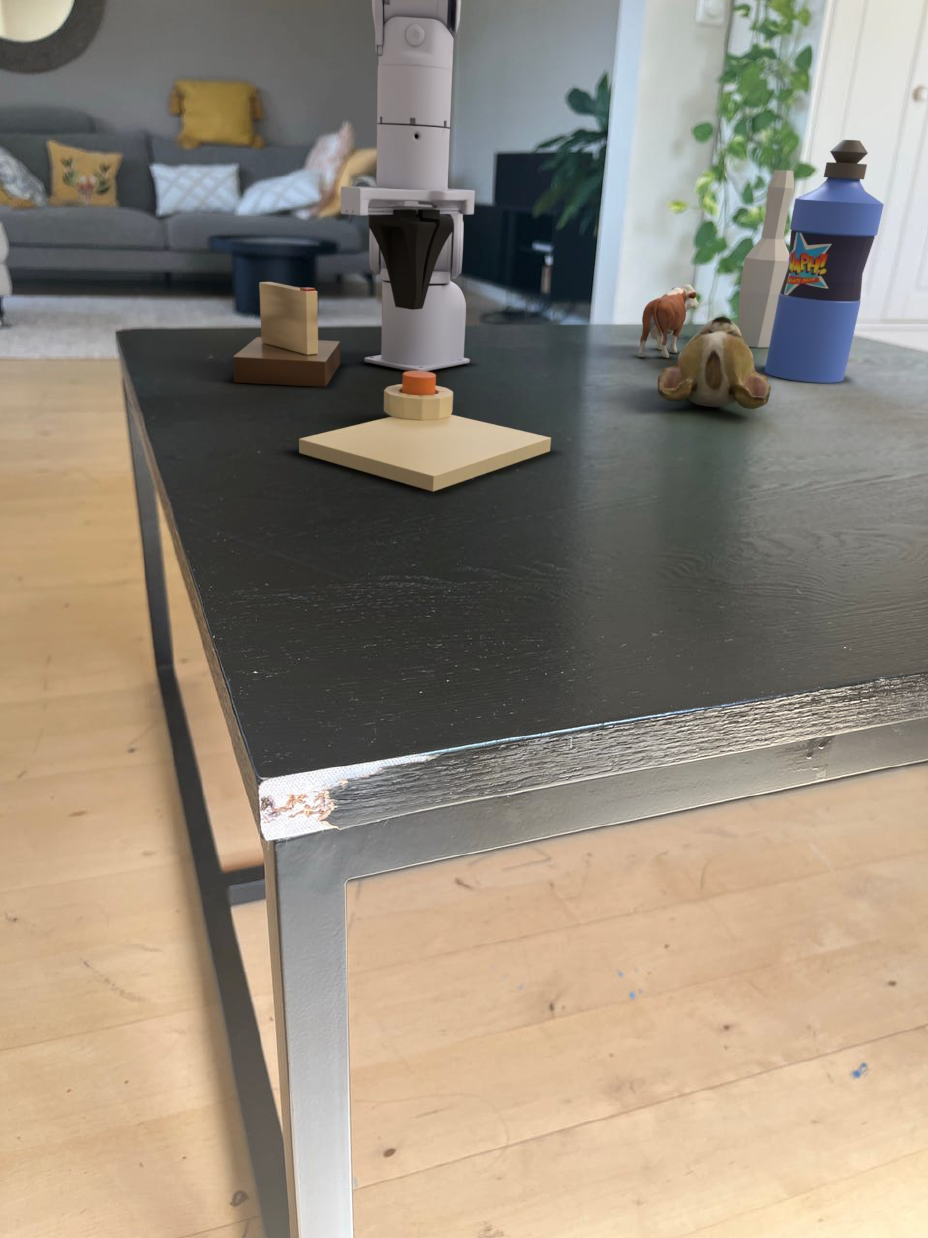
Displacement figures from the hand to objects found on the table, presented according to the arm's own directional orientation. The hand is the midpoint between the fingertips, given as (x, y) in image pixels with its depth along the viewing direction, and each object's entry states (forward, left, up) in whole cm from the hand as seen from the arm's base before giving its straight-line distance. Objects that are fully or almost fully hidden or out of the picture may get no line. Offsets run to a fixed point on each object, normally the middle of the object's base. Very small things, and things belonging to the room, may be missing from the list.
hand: (408, 307), depth 80 cm
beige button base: (+7, +8, -9) cm, 14 cm away
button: (+2, +3, -7) cm, 7 cm away
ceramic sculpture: (-27, +17, -10) cm, 33 cm away
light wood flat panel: (-5, -20, -7) cm, 22 cm away
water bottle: (-52, +18, -10) cm, 56 cm away
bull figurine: (-51, 0, -10) cm, 52 cm away
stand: (-5, -20, -9) cm, 23 cm away
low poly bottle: (-69, +5, -10) cm, 70 cm away
